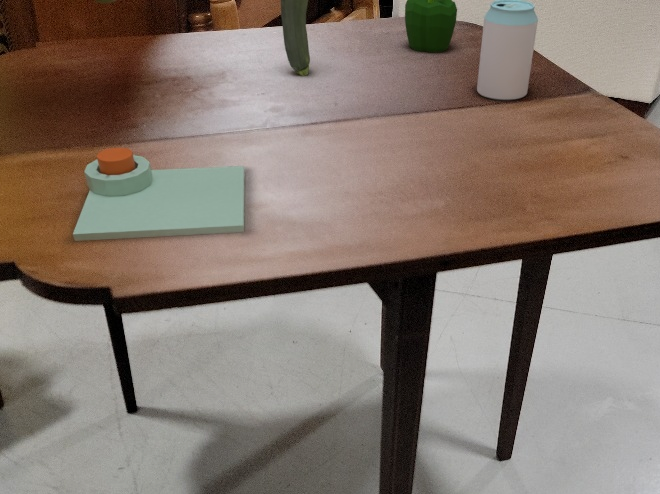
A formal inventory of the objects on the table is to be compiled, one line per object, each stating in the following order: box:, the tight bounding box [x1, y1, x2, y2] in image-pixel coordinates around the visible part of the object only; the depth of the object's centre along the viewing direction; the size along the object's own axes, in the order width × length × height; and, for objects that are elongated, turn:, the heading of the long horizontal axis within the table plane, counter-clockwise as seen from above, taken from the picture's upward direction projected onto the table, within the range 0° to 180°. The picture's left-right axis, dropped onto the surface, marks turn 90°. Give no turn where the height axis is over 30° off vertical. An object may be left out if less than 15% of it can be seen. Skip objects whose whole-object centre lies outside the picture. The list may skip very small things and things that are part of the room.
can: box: [476, 0, 539, 101], centre depth 100 cm, size 7×7×12 cm
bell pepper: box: [404, 0, 458, 54], centre depth 118 cm, size 8×8×10 cm
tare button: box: [96, 147, 136, 175], centre depth 76 cm, size 4×4×2 cm
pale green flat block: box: [72, 154, 246, 242], centre depth 75 cm, size 16×14×3 cm
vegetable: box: [280, 0, 311, 77], centre depth 104 cm, size 4×4×20 cm
